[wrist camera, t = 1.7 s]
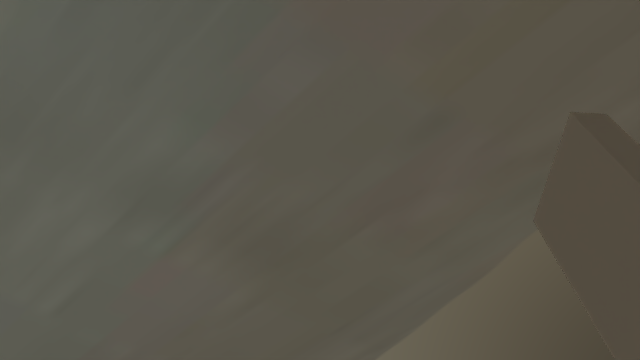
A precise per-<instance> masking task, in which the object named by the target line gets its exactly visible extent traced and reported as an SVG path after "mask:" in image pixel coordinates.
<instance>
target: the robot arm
mask: <svg viewBox="0 0 640 360" xmlns="http://www.w3.org/2000/svg"><path fill="white" fill-rule="evenodd" d="M533 221H534V223H535V225H536V227H537V228H538V230H539V232H540V233H541V235H542V237H543V238H544V240H545V242H546V244H547V245H548V247H549V248H550V250H551V252H552V254H553V255H554V257H555V259H556V261H557V262H558V264H559V266H560V267H561V269H562V271H563V272H564V274H565V276H566V278H567V279H568V281H569V283H570V284H571V286H572V288H573V290H574V291H575V293H576V294H577V296H578V298H579V300H580V301H581V303H582V305H583V306H584V308H585V310H586V312H587V313H588V315H589V317H590V318H591V320H592V322H593V324H594V325H595V327H596V328H597V330H598V332H599V334H600V335H601V337H602V339H603V341H604V342H605V344H606V346H607V347H608V349H609V351H610V353H611V354H612V356H613V358H614V359H615V360H640V145H639V144H638V143H637V142H636V141H635V140H634V139H632V138H631V137H630V136H629V135H628V134H627V133H626V132H625V131H624V130H623V129H622V128H621V127H620V126H618V125H617V124H616V123H615V122H614V121H613V120H612V119H611V118H610V117H609V116H608V115H607V114H596V113H580V112H570V114H569V117H568V120H567V123H566V126H565V129H564V132H563V135H562V138H561V140H560V143H559V146H558V149H557V152H556V155H555V158H554V161H553V164H552V167H551V170H550V173H549V176H548V179H547V182H546V185H545V188H544V191H543V193H542V196H541V199H540V202H539V205H538V208H537V211H536V214H535V217H534V220H533Z"/></svg>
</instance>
